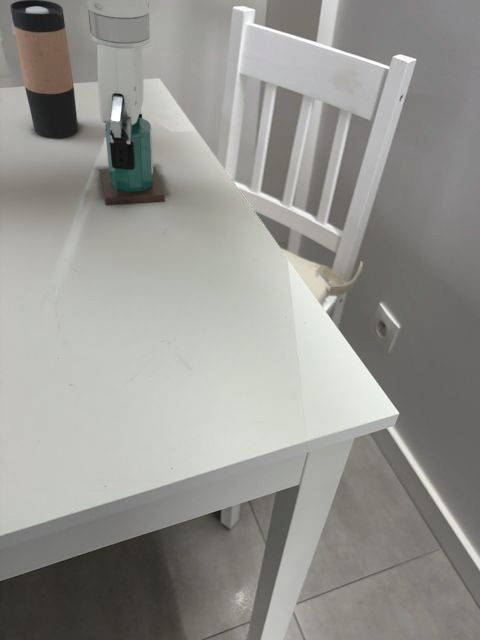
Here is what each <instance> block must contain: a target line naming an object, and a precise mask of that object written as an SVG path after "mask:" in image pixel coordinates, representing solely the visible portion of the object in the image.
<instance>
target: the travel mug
mask: <svg viewBox="0 0 480 640" xmlns="http://www.w3.org/2000/svg"><path fill="white" fill-rule="evenodd" d="M9 6H10V8H9V9H10V13H11V19H12V25H13V29H14V35H15V40H16V45H17V50H18V56H19V57H18V58H19V63H20V68H21V72H22V73H21V74H22V78H23V85H24V90H25V93H26V97H27V102H28V106H29V111H30V115H31V120H32V124H33V127H34V132H35V134H37V135H38V136H39V137H41V138H46V139H52V140H58V139H67V138H71V137H73V136H75V135H76V134H77V133H78V131H79V126H78V115H77V107H76V97H75V96H76V95H75V85H74V78H73V72H72V64H71V58H70V51H69V50H70V49H69V44H68V37H67V36H68V35H67V30H66V29H67V28H66V21H65V16H64V7H63V6H62V5H61V4H59V3H57V2H53V1H50V0H18V1H14V2H12V3H11V4H10V5H9Z"/></svg>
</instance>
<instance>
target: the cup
mask: <svg viewBox="0 0 480 640" xmlns="http://www.w3.org/2000/svg"><path fill="white" fill-rule="evenodd" d="M122 119H127V120H128V117H122ZM110 120H111V118H110V119H109V122H107V121H106V123H105V129H104V133H105V138H106V139H105V141H106V152H107V162H108V169H109V173H110V183H111V184H112V185H113V186H114V187H115V188H116V189H119V190H123V191H127V192H138V191H144V190H146V189H148V188H150V187H152V184H153V167H154V160H153V159H154V158H153V156H154V155H153V135H152V134H153V132H152V125H151V123H150V121H148V120H147V119H145V118H143V117H142V118H140V117H138V120H137V122H136V123H135V124H134V125H132V135H131V142H134V157H135V168H134V170H127V169H115V168H113V167H112V161H111V150H110ZM122 129H124V130H125V132H126V133H127V126H122Z"/></svg>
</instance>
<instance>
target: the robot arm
mask: <svg viewBox="0 0 480 640" xmlns="http://www.w3.org/2000/svg"><path fill="white" fill-rule="evenodd" d="M149 2H150V1H149V0H86V3H87V11H88V21H89V22H88V23H89V32H90V38H91V40H92V41H93V42H95V43H97V48H96V49H97V52H96V53H97V54H96V55H97V56H96V57H97V58H96V61H97V63H96V66H97V84H98V85H97V86H98V101H99V102H98V103H99V104H98V105H99V118H100V120H101V122H102V123H105V124H106V122H109V119H111V120H110V150H111V161H112V167H113V168H115V169H127V170H134V168H135V157H134V142H131V135H132V125H134V124H135V123H136V122H137V120H138V117H140V118H143V113H141V112H142V107H143V102H144V63H143V62H144V61H143V59H144V58H143V47H144V46H146V45H148V44H149V43H150V41H151V33H150V5H149ZM122 117H128V120H127V119H122ZM122 126H127V133H126V132H125V130H124V129H122Z"/></svg>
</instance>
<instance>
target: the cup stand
mask: <svg viewBox="0 0 480 640" xmlns="http://www.w3.org/2000/svg"><path fill="white" fill-rule="evenodd" d="M98 172H99V173H98V175H99V180H100V184H101V190H102V195H103V200H104V205H105V206H109V205H110V206H111V205H126V204H143V203H161V202H165V201H166V195H165V192H164V189H163V185H162V182H161V179H160V176H159V173H158V171H157V168H156V166H153V184H152V187H150V188H148V189H146V190H144V191H138V192H127V191H123V190H119V189H116V188H115V187H114V186H113V185H112V184H111V183H110V173H109V168H99V169H98Z"/></svg>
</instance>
